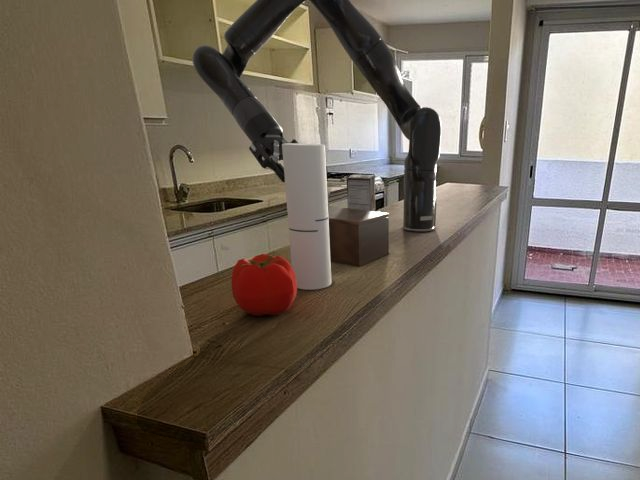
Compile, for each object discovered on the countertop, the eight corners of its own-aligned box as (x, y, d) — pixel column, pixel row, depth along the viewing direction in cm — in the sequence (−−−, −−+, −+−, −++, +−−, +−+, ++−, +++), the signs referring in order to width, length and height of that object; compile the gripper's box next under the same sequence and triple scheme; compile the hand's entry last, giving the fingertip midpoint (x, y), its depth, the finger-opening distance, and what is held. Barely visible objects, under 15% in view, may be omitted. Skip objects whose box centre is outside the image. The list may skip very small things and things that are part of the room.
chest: (302, 255, 103) (300, 217, 100) (335, 244, 114) (334, 209, 110) (359, 266, 97) (358, 226, 93) (388, 253, 107) (388, 216, 104)
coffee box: (353, 232, 127) (351, 173, 121) (376, 233, 127) (375, 174, 121) (348, 240, 118) (346, 177, 112) (372, 241, 118) (371, 178, 112)
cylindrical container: (339, 283, 86) (333, 145, 76) (307, 292, 81) (297, 145, 71) (317, 275, 90) (309, 143, 81) (286, 282, 85) (273, 143, 76)
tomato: (258, 295, 79) (252, 247, 75) (313, 304, 76) (309, 254, 72) (215, 317, 69) (207, 264, 66) (276, 328, 66) (270, 273, 63)
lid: (297, 217, 100) (295, 194, 98) (331, 209, 110) (330, 188, 109) (358, 225, 93) (357, 201, 92) (388, 216, 104) (388, 194, 102)
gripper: (240, 109, 96) (286, 169, 96) (286, 112, 108) (327, 165, 108) (226, 135, 100) (270, 192, 100) (272, 135, 112) (311, 186, 112)
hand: (299, 178), depth 104 cm, fingers open, 8 cm apart
